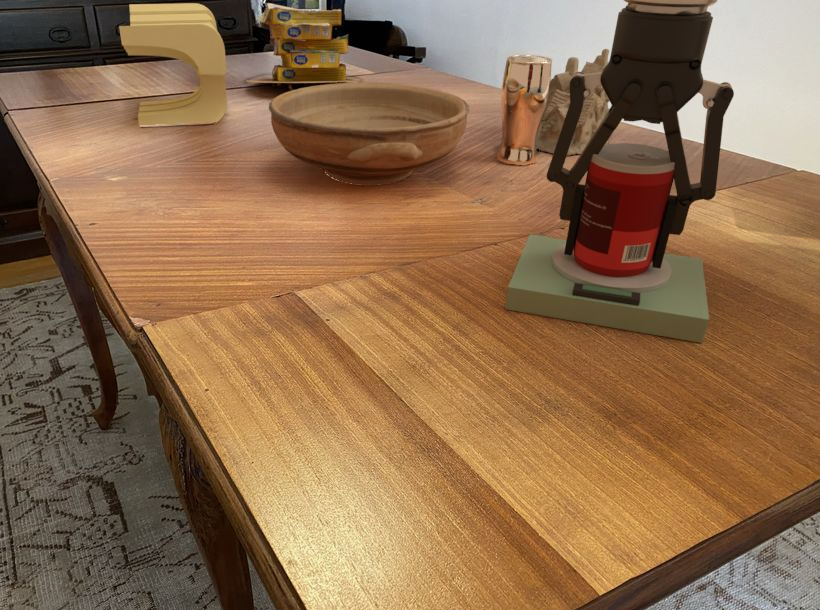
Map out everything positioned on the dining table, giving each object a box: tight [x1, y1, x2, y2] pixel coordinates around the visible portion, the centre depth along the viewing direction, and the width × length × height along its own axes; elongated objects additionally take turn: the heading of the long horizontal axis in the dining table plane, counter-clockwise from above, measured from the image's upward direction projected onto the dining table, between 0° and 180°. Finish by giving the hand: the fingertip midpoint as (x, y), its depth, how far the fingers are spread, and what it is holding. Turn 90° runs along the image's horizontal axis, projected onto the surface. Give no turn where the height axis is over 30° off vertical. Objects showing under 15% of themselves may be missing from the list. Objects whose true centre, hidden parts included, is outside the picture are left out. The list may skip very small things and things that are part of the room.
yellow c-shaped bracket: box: [118, 2, 228, 126], centre depth 128 cm, size 30×16×18 cm, turn 12°
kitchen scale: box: [504, 234, 710, 344], centre depth 72 cm, size 18×14×3 cm
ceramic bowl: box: [268, 81, 470, 186], centre depth 103 cm, size 37×29×10 cm
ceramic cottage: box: [536, 48, 610, 156], centre depth 117 cm, size 16×16×15 cm
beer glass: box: [496, 54, 553, 166], centre depth 107 cm, size 7×7×15 cm
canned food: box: [573, 142, 675, 277], centre depth 69 cm, size 8×8×11 cm
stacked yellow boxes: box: [246, 2, 361, 91], centre depth 150 cm, size 25×25×17 cm
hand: (612, 255), depth 71 cm, fingers closed on canned food, 8 cm apart
